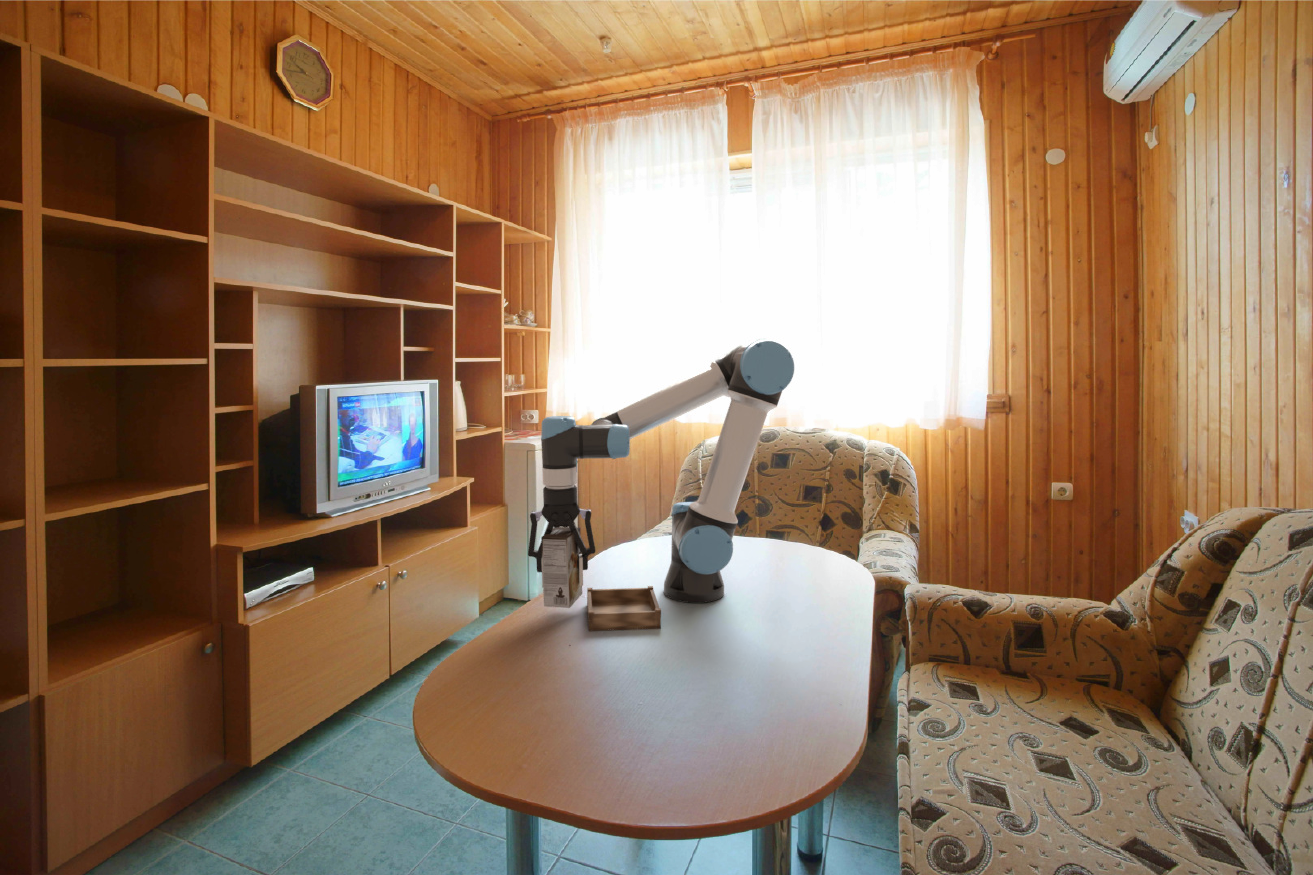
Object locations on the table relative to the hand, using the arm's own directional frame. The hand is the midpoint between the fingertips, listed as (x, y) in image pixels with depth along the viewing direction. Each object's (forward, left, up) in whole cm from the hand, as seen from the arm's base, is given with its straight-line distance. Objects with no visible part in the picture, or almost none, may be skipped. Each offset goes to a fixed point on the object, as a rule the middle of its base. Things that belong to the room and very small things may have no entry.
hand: (563, 584), depth 154 cm
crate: (-13, +2, -7) cm, 15 cm away
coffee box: (0, 0, -4) cm, 4 cm away
